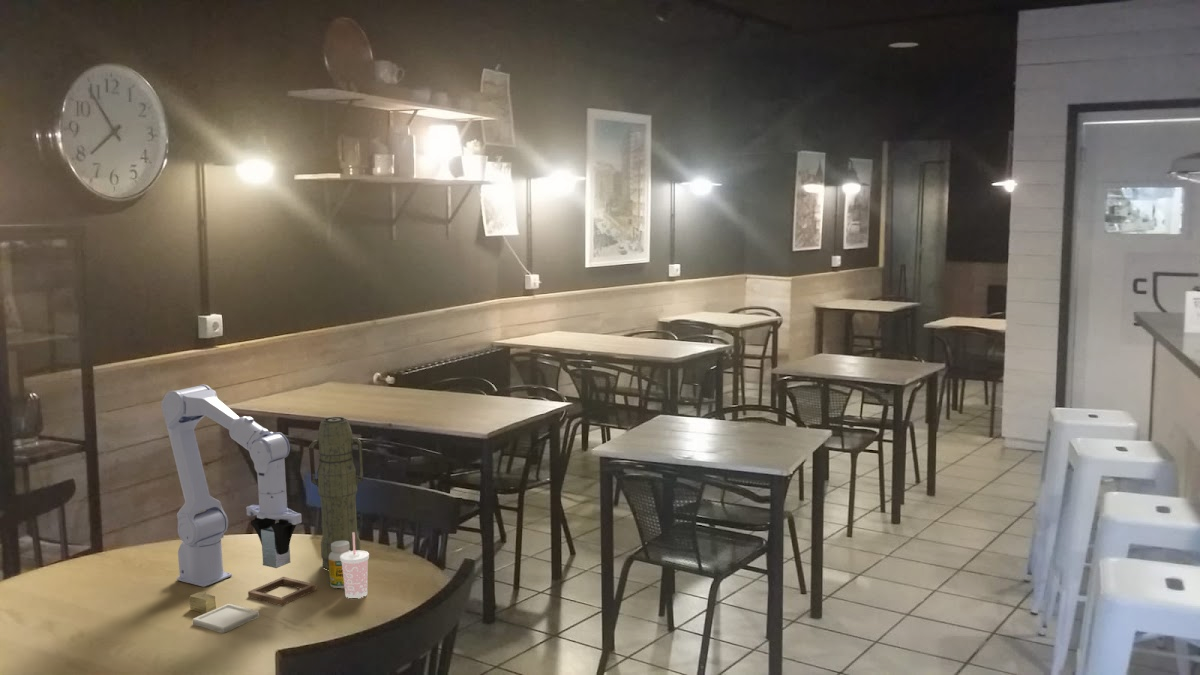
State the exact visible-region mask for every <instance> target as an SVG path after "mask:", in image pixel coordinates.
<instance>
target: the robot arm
mask: <svg viewBox="0 0 1200 675" xmlns="http://www.w3.org/2000/svg"><path fill="white" fill-rule="evenodd" d="M160 405H161V406H160V407H161V411H162V413H163V414H162V415H163V418H164V423H165V426H166V430H167V432H168V437H169V442H170V445H171V450H172V454H173V457H174V461H175V465H176V471H177V474H178V475H177V476H178V478H179V483H180V486H181V490H182V495H183V498H184V503H183V505H182V506H181V507H180V508H179V510H178V512H177V513H176V518H177V535H178V537H179V539H180V541H181V543H180V544H179V546H178V547H179V548H178V550H177V551H178V552H177V556H178V559H177V560H178V571H179V576H178V577H176V580H177V581H180V582H183V583H187V584H191V585H196V586H197V587H198V586H199V587H208V586H210V585H213V584H214V583H217V582H220V581H222V580H224V579H227V578H229V577H232V576H233V574H232V573H231V572H226V571H224V563H223V550H222V548H223V547H222V539H224V533H226V532H227V530H228V527H229V518H228V516H227V514H226V512H225V511H224V509H223V507H222V503H221V501H220V500H218V499H216V498H214V497H213V496H211V494H210V491H209V489H210V488H209V485H208V481H207V477H206V474H205V469H204V466H203V461H202V457H201V453H200V449H199V445H198V440H197V437H196V436H197V435H196V433H195V428H196V426H197V425H198V423H199V422H200V421H201V420H202V419H203V418H204V417H207V418H208V419H209V420H212V421H213V422H215V423H217V424H218V425H220V426H222V427H223V428H225V429H227V430H228V432H229V433H228V434H229V437H230V438H231V440H233V441H234V442H236V443H237V444H239V445H240V446H241V447H243V449H245V450H247V451H248V452H249V456H250V458H251V461H252V462H253V466H254V470H255V472H256V474H257V489H258V490H257V491H258V492H257V494H258V504H251V505H248V506H246V507H245V509H246V516H248V517H252V516H255V518H254V519H252V520H250V525H251V526H252V527H253V529H254V531H255V533H256V534H257V537H258V538H259V541H260V544H261V545H262V539H261V529H264V528H266V527H269V526H271V527H272V529H273V531H274V533H275V536H276V541H277V549H278V553H279V554H280V555H282V554H285V553H287V552H288V549H289V546H290V543H291V540H292V537H293V533H294V531H295V529H296V527H297V525H299V524H301V523H302V513H300V512H296V511H294V510H292V509H291V508H288V502H287V501H288V496H287V482H286V481H287V480H286V477H287V476H286V463H285V462H286V461H285V460H286V459H285V458H287V457H288V456H289V454H290V450H291V445H290V441H289V439H288V438H287V437H286V435H285V434H284V433H282V432H280V431H278V432H277V431H276V432H274V431H269V430H268V429H267V428H265V427H263V426H262V425H260V424H259V423H258V422H256V421H255V419H254V418H253V417H252V416H246V415H244V416H239V415H237V413H235V412H234V411H233V410H232V409H231V408H229V407H228V406H227V404H225V403H223V401H222V400H220V399H219V398H218V394H217V391H216V390H215V389H213V388H211V387H210V385H207V384H203V383H202V384H200V385H199V384H198V386H192V387H187V388H182V389H178V390H170V391H167V392H166V394H165V395H164V397H163V399H162V400H161V402H160ZM276 521H278V522H276Z"/></svg>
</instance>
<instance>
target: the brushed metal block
mask: <svg viewBox="0 0 1200 675" xmlns="http://www.w3.org/2000/svg"><path fill="white" fill-rule="evenodd" d="M261 539H262V544H261V551H262V552H261V553H262V566H265V567H269V568H274V569H278V568H281V567H283V566H285V565H287V564H290V563H291V549H290V548H291V547H290V545H289V549H288V552H287V553H285V554H282V555H280V554H279V553H278V549H277V541H276V536H275V533H274V531H273V529H272V527H271V526H269V527H266V528H264V529H261Z"/></svg>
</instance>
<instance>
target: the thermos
mask: <svg viewBox="0 0 1200 675" xmlns="http://www.w3.org/2000/svg"><path fill="white" fill-rule="evenodd" d="M355 443H357V445H358V446H357V447H358V449H357V450H358V451H357V452H358V468H359V469H358V470H359V475H358V474H357V468H356V465H355V463H354V456H353V451H354V449H353V444H355ZM315 445H317V446H318V454H319V462H318V463H319V465H318V468H317V475H316V464H315V451H314V450H315ZM308 455H309V464H310V465H309V467H310V479H311V480H310V481H311V483H312V484H313V485H315V486H317V489H318V496H319V498H320V507H321V508H320V509H321V528H322V530H321V531H322V537H321V542H320V552H321V554H320V555H321V559H322V569H323V568H325V569H327V570H329V554H330V553H331V552H332V550H331V543H333V542H336V541H348V542H349V545H350V548H349V550H350V551H353V535H352V533H353V532H355V550H361V540H360V536H358V522H357V521H358V520H357V519H358V517H357V499H356V495H357V493H358V484H359V483H360V482H363V481H364V465H363V464H364V463H363V462H364V460H363V443H362V441H361V440H360V439H359V437H356V436H353V430H352V428H351V425H350V422H349V421H348V418H344V416H343V417H342V416H341V417H340V416H332V417H328V418H324V419H323V420H321V421H320V423H319V428H318V433H317V438H316V439H314V440H313V441H312V442H311V444H309V446H308ZM316 476H317V478H316ZM327 570H326V571H327Z"/></svg>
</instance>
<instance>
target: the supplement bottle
mask: <svg viewBox="0 0 1200 675" xmlns="http://www.w3.org/2000/svg"><path fill="white" fill-rule="evenodd" d="M349 548H350V545H349V542H348V541H336V542H333V543H331V550H332V552H331V553H330V554H329V571H328V572H329V583H330V584H329V585H330V587H331V586H332V588H333V587H335V588H334V589H337V588H341V589H345V588H344V587H345V586H344V578H343V569H342V562H341V561H340V556H341V554H343V553H345V552H348V551H350V550H349Z"/></svg>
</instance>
